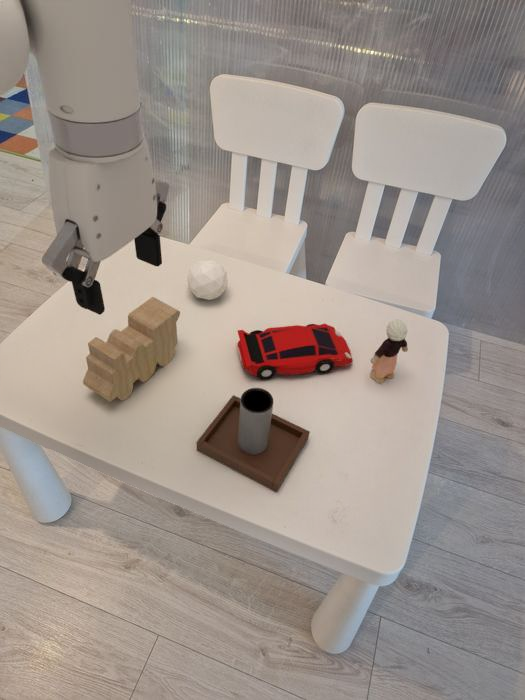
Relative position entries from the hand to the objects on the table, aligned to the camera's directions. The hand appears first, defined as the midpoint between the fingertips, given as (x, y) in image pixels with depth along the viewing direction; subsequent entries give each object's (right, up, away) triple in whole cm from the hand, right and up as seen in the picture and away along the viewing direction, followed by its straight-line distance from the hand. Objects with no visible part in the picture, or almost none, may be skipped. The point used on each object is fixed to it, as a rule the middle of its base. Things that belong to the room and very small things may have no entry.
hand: (121, 283), depth 57 cm
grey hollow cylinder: (+14, -21, +22) cm, 34 cm away
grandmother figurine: (+36, -12, +35) cm, 51 cm away
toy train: (-6, -11, +31) cm, 34 cm away
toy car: (+21, -9, +36) cm, 43 cm away
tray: (+14, -22, +23) cm, 34 cm away
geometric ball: (+5, +4, +47) cm, 47 cm away
